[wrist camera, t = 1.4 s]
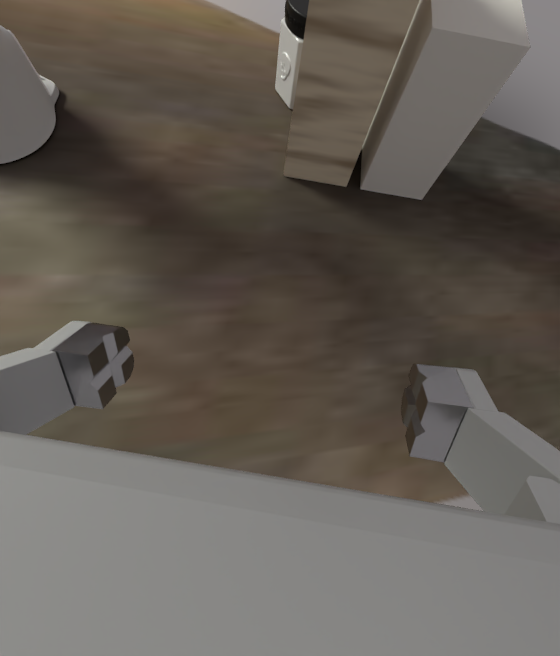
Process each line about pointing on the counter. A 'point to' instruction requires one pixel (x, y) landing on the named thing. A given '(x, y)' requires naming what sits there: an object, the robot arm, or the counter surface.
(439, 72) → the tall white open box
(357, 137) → the tall pedestal
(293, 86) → the jar
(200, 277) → the counter surface
